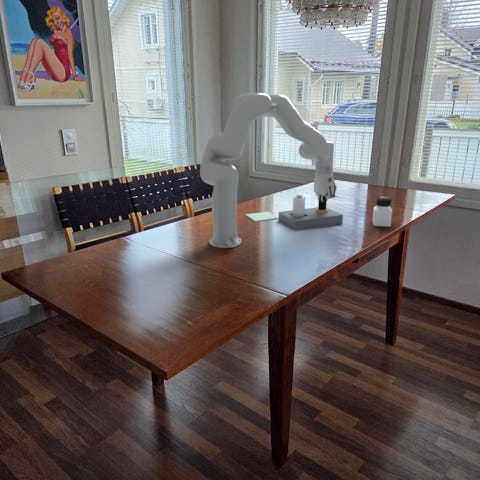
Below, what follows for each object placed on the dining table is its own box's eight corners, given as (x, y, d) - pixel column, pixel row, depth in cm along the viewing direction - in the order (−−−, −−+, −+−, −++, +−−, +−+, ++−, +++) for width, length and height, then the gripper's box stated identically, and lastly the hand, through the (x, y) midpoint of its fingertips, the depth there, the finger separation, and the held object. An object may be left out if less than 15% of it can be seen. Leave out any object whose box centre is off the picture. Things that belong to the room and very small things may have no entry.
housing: (342, 223, 184) (342, 214, 182) (294, 229, 176) (295, 221, 174) (323, 214, 198) (323, 206, 196) (278, 220, 190) (278, 212, 188)
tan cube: (327, 219, 187) (327, 210, 186) (320, 220, 186) (320, 211, 185) (322, 217, 191) (323, 208, 189) (315, 218, 189) (316, 209, 188)
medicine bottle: (391, 226, 177) (393, 200, 173) (373, 226, 179) (376, 199, 175) (388, 222, 184) (391, 196, 180) (372, 221, 185) (374, 195, 181)
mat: (278, 218, 192) (278, 217, 192) (255, 221, 188) (255, 220, 188) (268, 212, 202) (268, 211, 202) (245, 215, 198) (245, 214, 198)
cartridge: (306, 224, 183) (307, 195, 179) (295, 225, 182) (296, 197, 177) (300, 221, 188) (301, 193, 184) (290, 222, 186) (291, 194, 182)
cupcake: (316, 194, 239) (317, 177, 235) (331, 193, 241) (332, 176, 238) (324, 198, 230) (325, 180, 227) (339, 196, 233) (340, 179, 229)
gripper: (340, 171, 176) (338, 212, 182) (322, 166, 189) (320, 204, 195) (325, 172, 173) (323, 214, 179) (308, 167, 186) (306, 206, 192)
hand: (322, 209), depth 187 cm, fingers closed
